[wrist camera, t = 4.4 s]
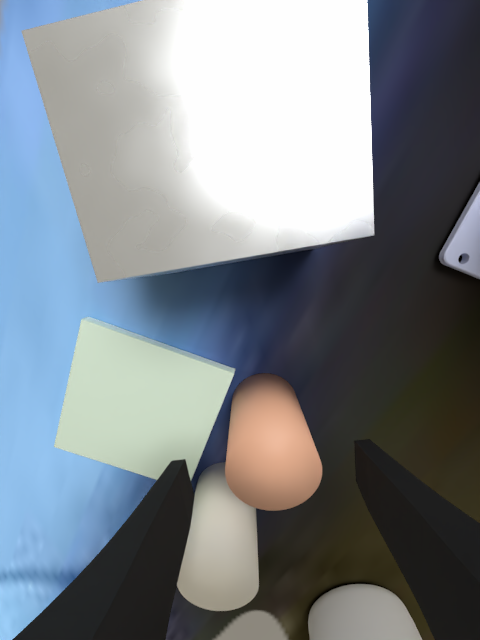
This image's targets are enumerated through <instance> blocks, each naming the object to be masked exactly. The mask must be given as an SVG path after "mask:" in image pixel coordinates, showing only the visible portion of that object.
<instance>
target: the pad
mask: <svg viewBox="0 0 480 640" xmlns="http://www.w3.org/2000/svg"><path fill="white" fill-rule="evenodd" d="M234 372H235V369H234V368H231V367H228V366H225V365H223V364H220V363H217V362H214V361H211V360H209V359H206V358H203V357H200V356H197V355H195V354H192V353H189V352H186V351H183V350H181V349H178V348H175V347H172V346H169V345H167V344H164V343H161V342H158V341H155V340H153V339H150V338H147V337H144V336H141V335H139V334H136V333H133V332H130V331H127V330H125V329H122V328H119V327H116V326H113V325H111V324H108V323H105V322H102V321H99V320H97V319H94V318H91V317H86V318H83V319H81V324H80V328H79V333H78V338H77V342H76V347H75V352H74V356H73V361H72V366H71V370H70V375H69V380H68V384H67V389H66V394H65V398H64V403H63V407H62V412H61V417H60V421H59V426H58V431H57V435H56V440H55V445H54V447H56V448H59V449H62V450H66V451H69V452H72V453H75V454H78V455H81V456H84V457H87V458H91V459H94V460H97V461H100V462H103V463H106V464H109V465H112V466H115V467H119V468H122V469H125V470H128V471H131V472H134V473H137V474H140V475H143V476H147V477H150V478H153V479H156V480H158V478H159V477H160V476H161V474H162V473H163V471H164V470H165V469H166V467H167V466H168V465H169V463H170V462H171V461H173V460H182V459H185V460H186V464H187V468H188V472H189V476H190V480H192V477H193V475H194V472H195V470H196V467H197V465H198V462H199V460H200V457H201V455H202V452H203V450H204V447H205V445H206V442H207V440H208V437H209V435H210V433H211V430H212V428H213V425H214V423H215V420H216V418H217V415H218V413H219V410H220V408H221V405H222V403H223V400H224V398H225V395H226V393H227V390H228V388H229V386H230V383H231V381H232V378H233V376H234Z"/></svg>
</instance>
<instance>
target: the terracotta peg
mask: <svg viewBox="0 0 480 640" xmlns="http://www.w3.org/2000/svg"><path fill="white" fill-rule="evenodd" d="M225 476H226V480H227V484H228V486H229V488H230V489H231V491H232V492H233V493H234V495H235V496H236V497H237V498H239V499H240V500H241V501H242V502H244V503H246V504H248V505H249V506H252V507H254V508H258V509H262V510H270V511H277V510H285V509H289V508H292V507H295V506H297V505H299V504H301V503H303V502H304V501H306V500H307V499H308V498H310V497H311V496H312V495H313V493H314V492H315V491H316V489H317V488H318V486H319V484H320V481H321V478H322V464H321V460H320V458H319V455H318V452H317V450H316V447H315V444H314V442H313V439H312V436H311V434H310V431H309V429H308V426H307V423H306V421H305V418H304V415H303V413H302V410H301V408H300V405H299V402H298V400H297V397H296V394H295V392H294V390H293V388H292V386H291V385H290V384H289V383H288V382H287V381H286V380H285V379H283V378H281V377H279V376H277V375H274V374H269V373H261V374H255V375H252V376H250V377H248V378H246V379H244V380H243V381H242V382H241V383H240V384H239V385H238V386H237V388H236V389H235V391H234V394H233V398H232V407H231V416H230V426H229V436H228V446H227V455H226V465H225Z"/></svg>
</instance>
